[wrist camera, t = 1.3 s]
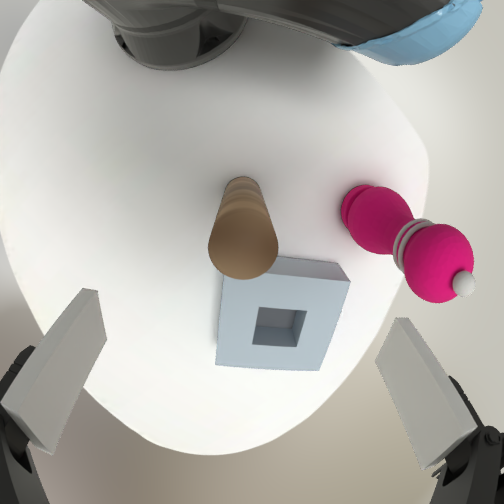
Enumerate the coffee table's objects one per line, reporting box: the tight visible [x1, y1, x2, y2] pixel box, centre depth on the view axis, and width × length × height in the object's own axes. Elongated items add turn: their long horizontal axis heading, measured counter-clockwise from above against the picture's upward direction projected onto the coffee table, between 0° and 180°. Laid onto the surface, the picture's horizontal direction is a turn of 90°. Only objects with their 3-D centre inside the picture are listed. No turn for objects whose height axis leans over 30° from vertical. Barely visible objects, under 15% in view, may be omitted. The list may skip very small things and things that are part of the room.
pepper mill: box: [341, 185, 475, 303], centre depth 24 cm, size 7×7×20 cm
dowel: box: [208, 177, 278, 280], centre depth 24 cm, size 4×4×17 cm
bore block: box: [215, 256, 351, 371], centre depth 35 cm, size 14×14×5 cm
